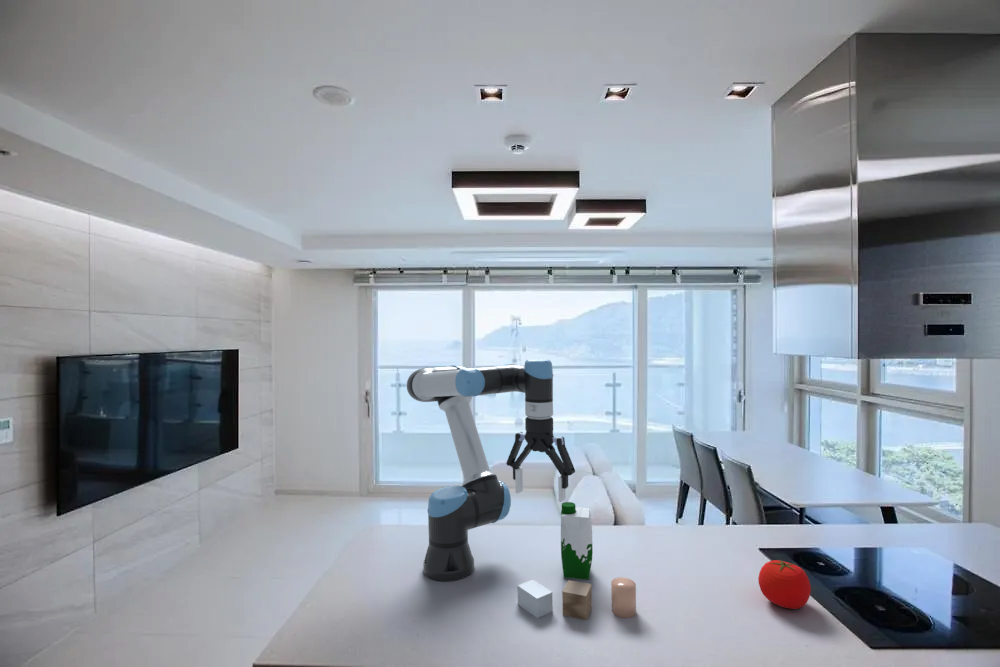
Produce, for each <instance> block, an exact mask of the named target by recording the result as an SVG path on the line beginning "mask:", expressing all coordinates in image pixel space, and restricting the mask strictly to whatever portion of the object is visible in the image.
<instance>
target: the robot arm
mask: <svg viewBox="0 0 1000 667" xmlns="http://www.w3.org/2000/svg"><path fill="white" fill-rule="evenodd" d="M553 372H554V371H553V363H552V361H551V360H550V359H545V358H543V359H542V358H541V359H540V358H538V359H537V358H533V359H526V360H525V362H524V365H522V364H521V365H519V364H516V363H507V364H502V365H498V366H497V365H496V366H485V367H483V366H482V367H479V366H478V367H467V368H466V367H465V366H461V365H449V366H438V367H437V366H436V367H434V366H433V367H422V368H419V369H417V370H415V371H413V372H412V373H411V374H409V377H408V379H407V381H406V390H407V393H408V394H409V397H411V398H412V399H413V400H415V401H417V402H421V403H430V402H433V403H434V402H437V405H438V408H439V409H440V410H441V411H443V412H444V413H445V416H446V420H447V423H448V426H449V430H450V433H451V437H452V442H453V443H454V448H455V451H456V453H457V457H458V458H457V459H458V461H459V464H460V468H461V471H462V474H463V478H464V480H463V482H462V484H461V485H452V486H451V485H447V486H444V487H441V488H439V489H436V490H435V491H433V492H432V493H431V494H430V496H429V497H428V504H427V505H428V506H427V507H428V508H427V514H428V515H427V516H428V519H427V520H428V547H427V550H426V553H425V557H424V559H423V567H422V568H423V574H424V573H425V574H424V575H425V576H426V577H427V576H428V577H427V578H429V579H431V580H434V581H441V582H450V581H451V582H452V581H456V580H461V579H463V578H466V577H468V576H469V575H471V574H472V573H473V571H474V569H475V560H474V559H475V558H474V556H473V554H472V551H471V547H470V544H469V538H468V537H469V536H468V535H469V533H468V532H469V531H470V530H472V529H475V528H479V527H482V526H485V525H489V524H494V523H497V522H498V521H502V520H504V519H505V518H506V517H507V516H508V515H509V513H510V509H511V506H512V505H511V504H512V499H511V498H512V497H511V492H510V490H509V487H508V485H507V484H506V483H505V482H504V481H501V480H499V479H498V476H497V474H496V473H495V472H492V471H491V469H490V466H489V463H488V461H487V456H486V453H485V450H484V447H483V444H482V441H481V438H480V434H479V431H478V428H477V425H476V421H475V419H474V416H473V412H472V410H471V406H470V403H471V401H472V398H473V397H477V396H487V395H495V394H503V393H511V392H512V393H513V392H518V393H523V394H524V402H525V403H524V404H525V405H524V406H525V407H524V410H525V416H526V418H525V420H524V421H525V427H524V428H525V433H524V432H523V431H519V432H516V433H515V436H514V442H513V446H512V447H511V450H510V452H509V455H508V458H507V460H506V463H505V464H506V466H509V467H511V468H512V479H513V481H514V483H515V493H516V494H520V493H521V492H523V490H524V485H523V484H524V482H523V481H524V480H523V477H524V476H523V471H524V470H523V467H524V466H523V467H521V465H522V464H523V463H524V461H525V460H526V458H527V457H528V455H529V454H530V453H531V451H532V452H538V453H539V452H540V453H545V455H547V456H548V458H549V459H550V460H551V462H552V463H553V465H554V466H555V468H556V470H557V471H558V473H559V474H560V475H559V476H558V477H557V480H558V481H557V482H558V483H557V484H558V487H557V488H558V489H557V490H558V492H557V493H558V502H562V503H563V501H564V500H566V489H568V488H569V476H572V475H573V474H575V473H576V469H575V466H574V464H573V461H572V459H571V456H570V454H569V452H568V450H567V447H566V443H565V442H566V441H565V437H564V436H559V437H557V436H556V437H555V436H554V418H553V416H554V403H553V401H554V395H553V394H554V393H553V392H554V390H553V389H554V386H553V385H554V373H553ZM524 440H525V441H526V443H527V444H526V445H525V447H524V448H523V449H522V452H521V453H520V454H519V452H520V449H521V447H522V444H523V442H524ZM553 444H554V445H555V446H556V448H557V450H558V451H557V452H558V453H559V455H558V453H557V452H556V448H555V447H554V446H553ZM518 454H519V455H518ZM517 456H518V457H517Z"/></svg>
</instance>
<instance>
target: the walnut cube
mask: <svg viewBox="0 0 1000 667" xmlns="http://www.w3.org/2000/svg"><path fill="white" fill-rule="evenodd" d="M561 594H562V597H561V598H562V616H565V617H569V618H575V619H580V620H584V621H587V620H588V618H589V615H590V612H591V610H592V608H593V606H592V605H593V601H592V599H593V598H592V597H593V596H592V583H587V582H581V581H575V580H570V579H568V581H567V582H566V583H565V585H564V588H563V590H562V593H561Z"/></svg>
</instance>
